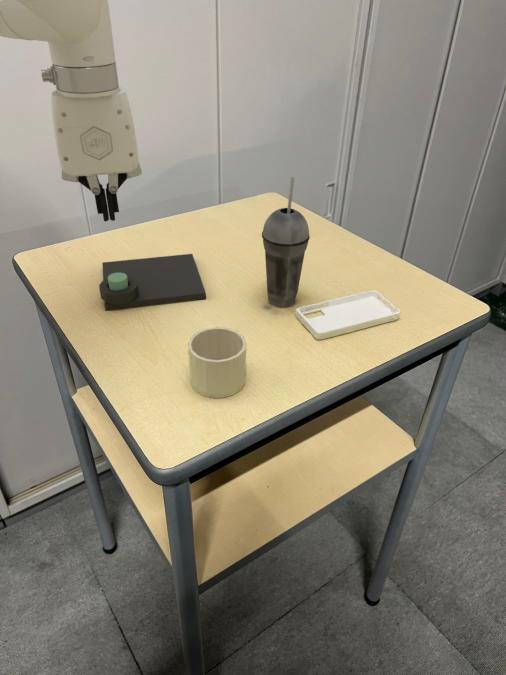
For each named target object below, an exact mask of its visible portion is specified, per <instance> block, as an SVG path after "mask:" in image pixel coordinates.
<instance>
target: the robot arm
mask: <svg viewBox="0 0 506 675" xmlns="http://www.w3.org/2000/svg"><path fill="white" fill-rule="evenodd" d="M0 37H3V38H8V39H14V40H23V41H38V42H47V44H48V49H49V54H50V59H51V65H50V67H49V68H46V69H40V72H41V74H40V75H41V79H42V82H43V83H48V82H49V84H52V85H53V86H55V90H53V91H52V93H51V115H52V124H53V133H54V139H55V144H56V150H57V155H58V162H59V164H60V168H61V179H62V180H63V181H65V182H71V183H79V184H80V185H82V186H83V187H85V188H86V189H88V190H89V191H90V192H91V193H92V194H93V195H94V200H95V206H96V211H97V214H98V215H101V214H102V218H103V222H108V221H111V222H115V221H116V214H115V213H120V208H119V200H118V195H117V194H118V191H119V189H120V188H121V186H122V185H123V184H124V183H125V182H126V181H127V180H129V179H132V178H135V177H139V176H141V175H142V167H141V164H140V162H139V150H138V144H137V136H136V130H135V125H134V124H135V123H134V119H133V114H132V110H131V109H132V108H131V105H130V101H129V97H128V94H127V92H126V90H125V88H124V87H120V84H119V77H118V69H117V62H116V55H115V46H114V38H113V29H112V22H111V14H110V7H109V0H0ZM103 175H104V176H105V175H107V178H108V180H107V183H106V184H105V185H106V188H104V187H103V184H102V183H101V182H100V179H99V176H103Z"/></svg>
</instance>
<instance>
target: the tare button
mask: <svg viewBox="0 0 506 675" xmlns="http://www.w3.org/2000/svg"><path fill="white" fill-rule="evenodd" d="M108 284H109V289H110V290H114V291H118V290H124V289H126V288H128V279H127V275H126V274H124V273H113V274H111V275H109V276H108Z"/></svg>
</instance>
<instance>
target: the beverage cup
mask: <svg viewBox="0 0 506 675" xmlns="http://www.w3.org/2000/svg"><path fill="white" fill-rule="evenodd" d="M294 184H295V177H294V176H291V177H290V184H289V192H288V193H289V194H288V200H287V207H282V208H279V209H276V210H275V211H273V212H271V214H269V216H268V217H267V218H266V220H265V222H264V224H263V227H262V232H261V238H262V245H263V249H264V256H265V259H264V260H265V275H266V276H265V277H266V293H267V302H268V303H269V304H270V305H271V306H273V307H276V308H283V309H284V308H285V309H286V308H290V307H292V306H293V305H294V304H295V303H296V301H297V300H296V299H297V295H298V291H299V286H300V281H301V276H302V270H303V265H304V259H305V254H306V251H307V249H308V244H309V240H310V239H311V237H310V236H311V235H310V230H309V224H308V221H307V219H306V218H305V216H304V215H303V213H301V212H300V211H299V210H296V209H295V208H292V202H293V193H294Z"/></svg>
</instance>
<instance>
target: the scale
mask: <svg viewBox="0 0 506 675" xmlns="http://www.w3.org/2000/svg"><path fill="white" fill-rule="evenodd" d="M113 273H124V274H126V275H127V279H128V288H126V289H124V290H118V291H114V290H110V289H109V284H108V276H109V275H111V274H113ZM98 288H99V294H100V299H101V300H102V301H103V302H104V303H103V304H104V305H103V306H104V310H105V312H107V311H117V310H123V309H124V310H125V309H132V308H140V307H150V306H158V305H166V304H175V303H184V302H193V301H200V300H201V301H202V300H207V292H206V289H205V286H204V284H203V281H202V278H201V275H200V272H199V269H198V266H197V263H196V261H195V256H194V254H193V253H184V254H175V255H165V256H155V257H145V258H135V259H134V258H133V259H125V260H124V259H123V260H113V261H103V262H102V281H101V282H100V283H99V285H98Z"/></svg>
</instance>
